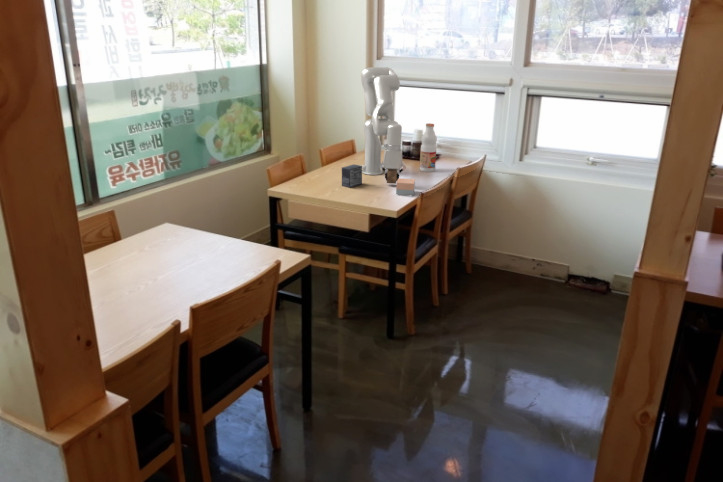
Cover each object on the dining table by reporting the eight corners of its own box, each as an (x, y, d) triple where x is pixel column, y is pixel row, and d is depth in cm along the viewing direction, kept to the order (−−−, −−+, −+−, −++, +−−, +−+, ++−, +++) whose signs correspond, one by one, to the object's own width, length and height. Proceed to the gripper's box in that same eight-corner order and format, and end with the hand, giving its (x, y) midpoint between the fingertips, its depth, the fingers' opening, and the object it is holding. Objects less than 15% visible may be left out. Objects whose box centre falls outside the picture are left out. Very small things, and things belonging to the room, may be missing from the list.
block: (386, 183, 323) (387, 170, 321) (387, 180, 328) (388, 168, 325) (396, 183, 323) (396, 171, 320) (396, 181, 328) (397, 168, 325)
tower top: (396, 189, 308) (396, 182, 306) (397, 184, 316) (398, 178, 315) (413, 190, 307) (414, 183, 305) (414, 185, 315) (415, 179, 314)
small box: (353, 182, 331) (353, 163, 327) (362, 184, 327) (362, 165, 323) (340, 185, 323) (341, 167, 320) (350, 188, 319) (350, 169, 316)
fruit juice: (419, 168, 365) (422, 122, 356) (435, 169, 364) (438, 123, 354) (418, 171, 357) (421, 124, 347) (434, 172, 355) (437, 125, 346)
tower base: (396, 195, 309) (396, 189, 308) (397, 191, 317) (397, 184, 316) (413, 196, 308) (413, 190, 307) (414, 191, 316) (414, 185, 315)
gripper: (377, 148, 316) (375, 181, 323) (409, 150, 314) (407, 183, 321) (378, 144, 323) (377, 177, 329) (409, 146, 321) (407, 179, 328)
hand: (391, 179), depth 325 cm, fingers closed on block, 5 cm apart
